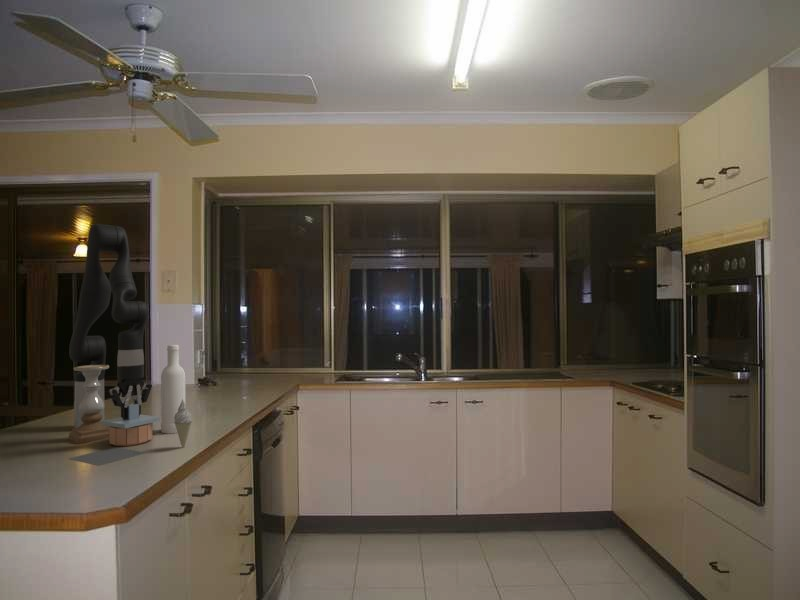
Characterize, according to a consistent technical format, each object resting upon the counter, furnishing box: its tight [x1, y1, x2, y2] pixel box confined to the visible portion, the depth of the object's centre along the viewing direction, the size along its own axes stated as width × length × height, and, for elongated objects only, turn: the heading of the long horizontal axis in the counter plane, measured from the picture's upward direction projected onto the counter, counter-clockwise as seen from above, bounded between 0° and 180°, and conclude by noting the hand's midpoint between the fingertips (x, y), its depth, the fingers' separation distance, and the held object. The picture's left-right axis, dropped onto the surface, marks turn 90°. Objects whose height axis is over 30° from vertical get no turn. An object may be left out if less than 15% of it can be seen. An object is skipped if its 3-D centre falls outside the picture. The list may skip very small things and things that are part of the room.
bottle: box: [160, 344, 187, 435], centre depth 181 cm, size 8×8×30 cm
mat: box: [67, 446, 146, 467], centre depth 149 cm, size 15×14×1 cm
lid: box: [101, 402, 161, 429], centre depth 165 cm, size 12×12×6 cm
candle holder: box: [68, 364, 110, 445], centre depth 172 cm, size 11×11×24 cm
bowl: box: [108, 423, 153, 447], centre depth 165 cm, size 12×12×6 cm
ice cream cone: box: [174, 399, 193, 448], centre depth 157 cm, size 5×5×15 cm
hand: (130, 417), depth 165 cm, fingers closed on lid, 3 cm apart
